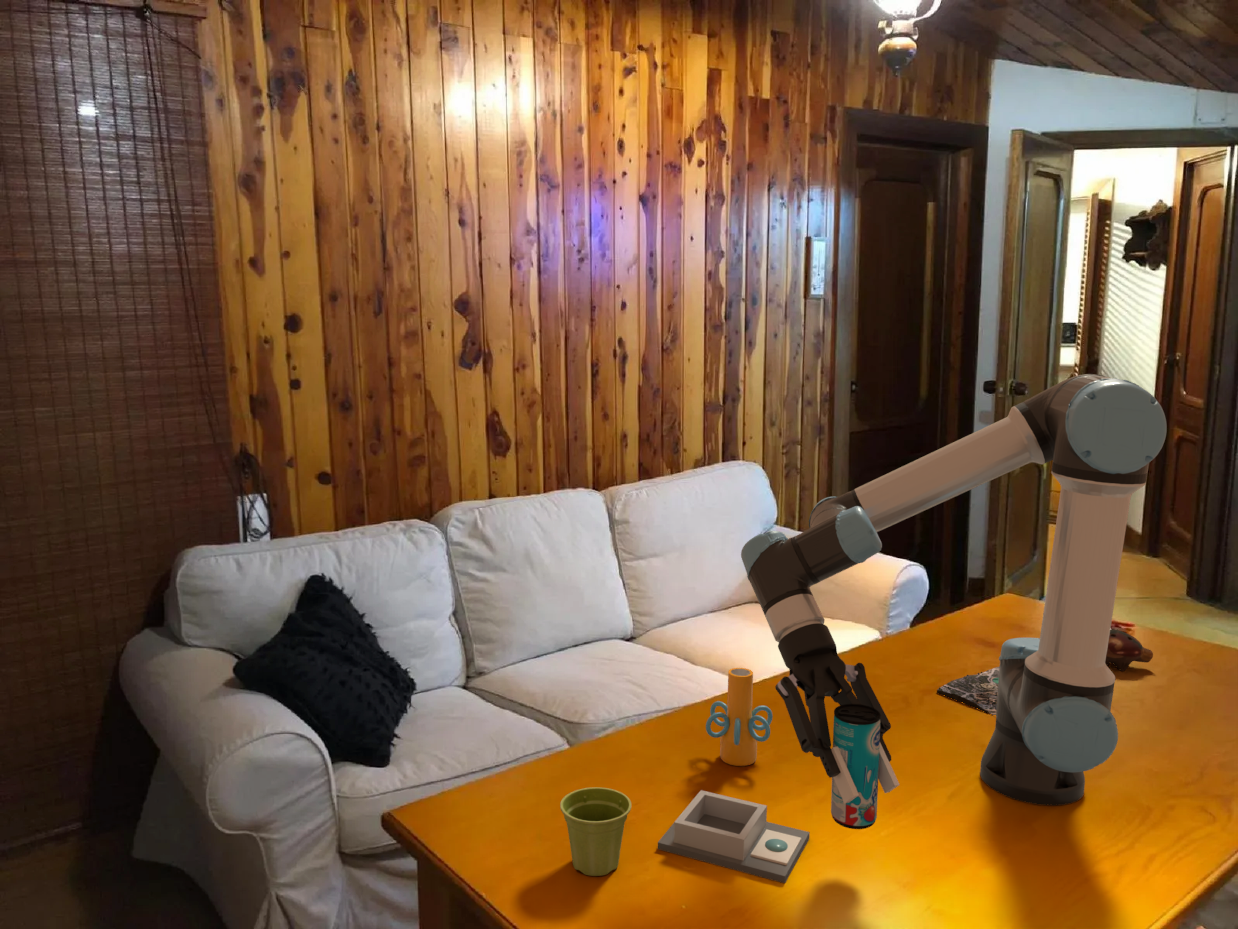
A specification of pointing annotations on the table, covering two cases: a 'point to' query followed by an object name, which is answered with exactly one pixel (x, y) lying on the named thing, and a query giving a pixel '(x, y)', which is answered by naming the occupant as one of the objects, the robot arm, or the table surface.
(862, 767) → the beverage can
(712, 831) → the can holder
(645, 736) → the table surface
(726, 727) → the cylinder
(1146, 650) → the decorative turtle
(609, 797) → the plant pot
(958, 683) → the terrain model
